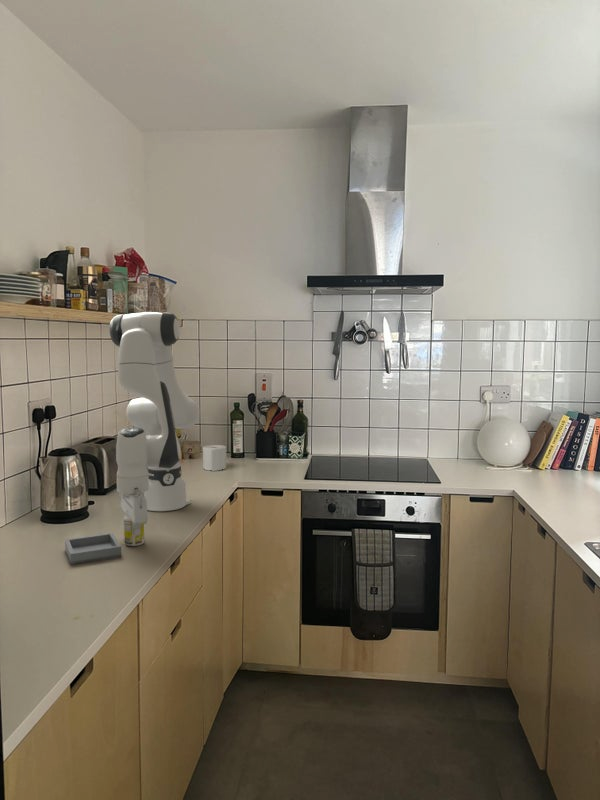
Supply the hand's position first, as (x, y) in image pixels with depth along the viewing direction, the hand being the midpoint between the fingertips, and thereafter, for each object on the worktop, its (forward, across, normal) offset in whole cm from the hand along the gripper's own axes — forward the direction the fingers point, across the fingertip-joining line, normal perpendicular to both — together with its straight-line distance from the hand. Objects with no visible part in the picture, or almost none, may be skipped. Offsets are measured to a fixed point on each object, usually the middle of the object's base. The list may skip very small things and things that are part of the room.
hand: (134, 531), depth 175 cm
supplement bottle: (+4, 0, 0) cm, 4 cm away
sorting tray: (+4, -3, +12) cm, 13 cm away
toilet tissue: (+4, +87, -55) cm, 103 cm away
